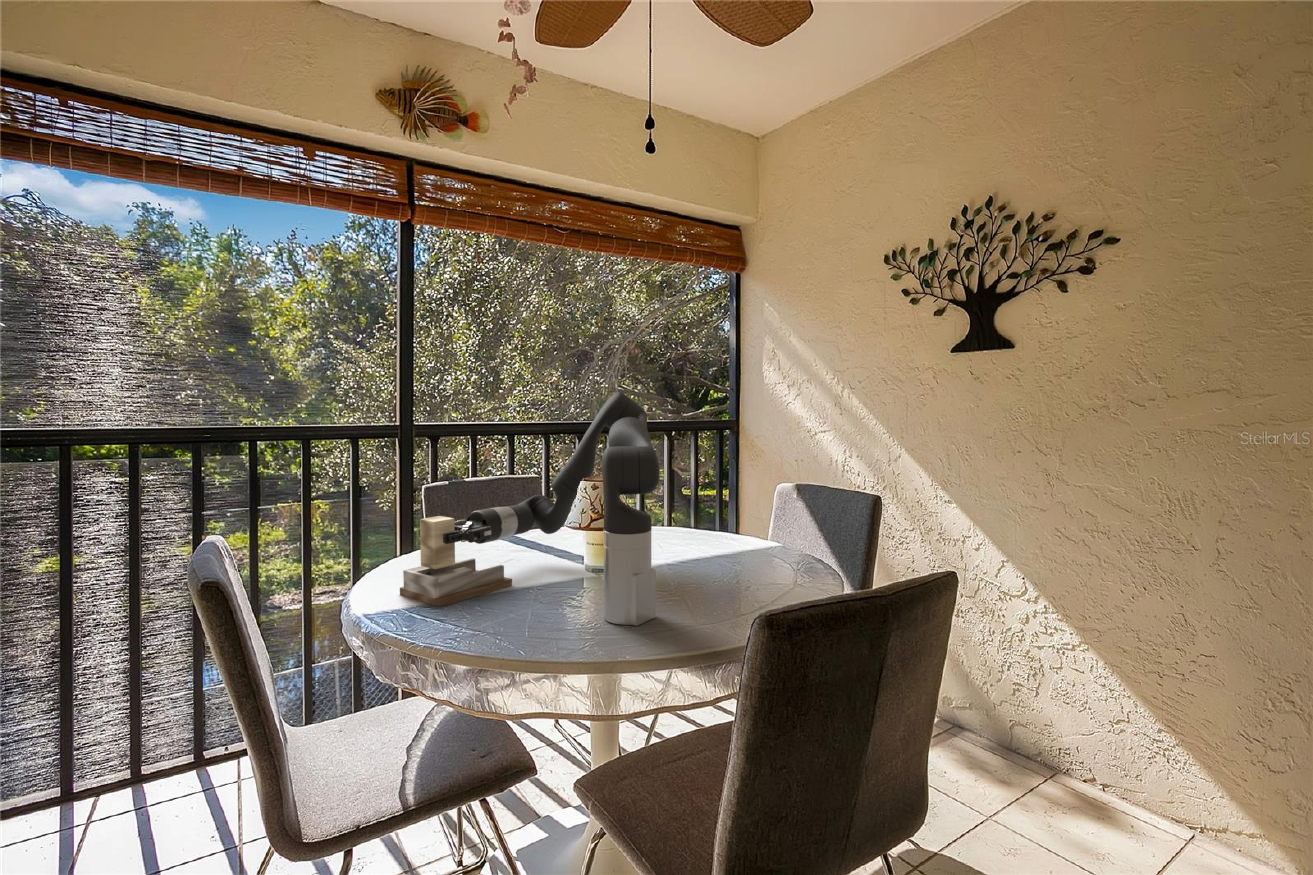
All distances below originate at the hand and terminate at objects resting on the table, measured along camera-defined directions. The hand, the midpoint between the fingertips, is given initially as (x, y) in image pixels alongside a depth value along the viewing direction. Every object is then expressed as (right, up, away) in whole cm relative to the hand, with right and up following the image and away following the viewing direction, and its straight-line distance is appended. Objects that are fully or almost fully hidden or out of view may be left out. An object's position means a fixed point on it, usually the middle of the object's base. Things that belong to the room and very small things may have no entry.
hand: (431, 536), depth 140 cm
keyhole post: (+1, -11, +2) cm, 12 cm away
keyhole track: (+4, -13, +6) cm, 14 cm away
